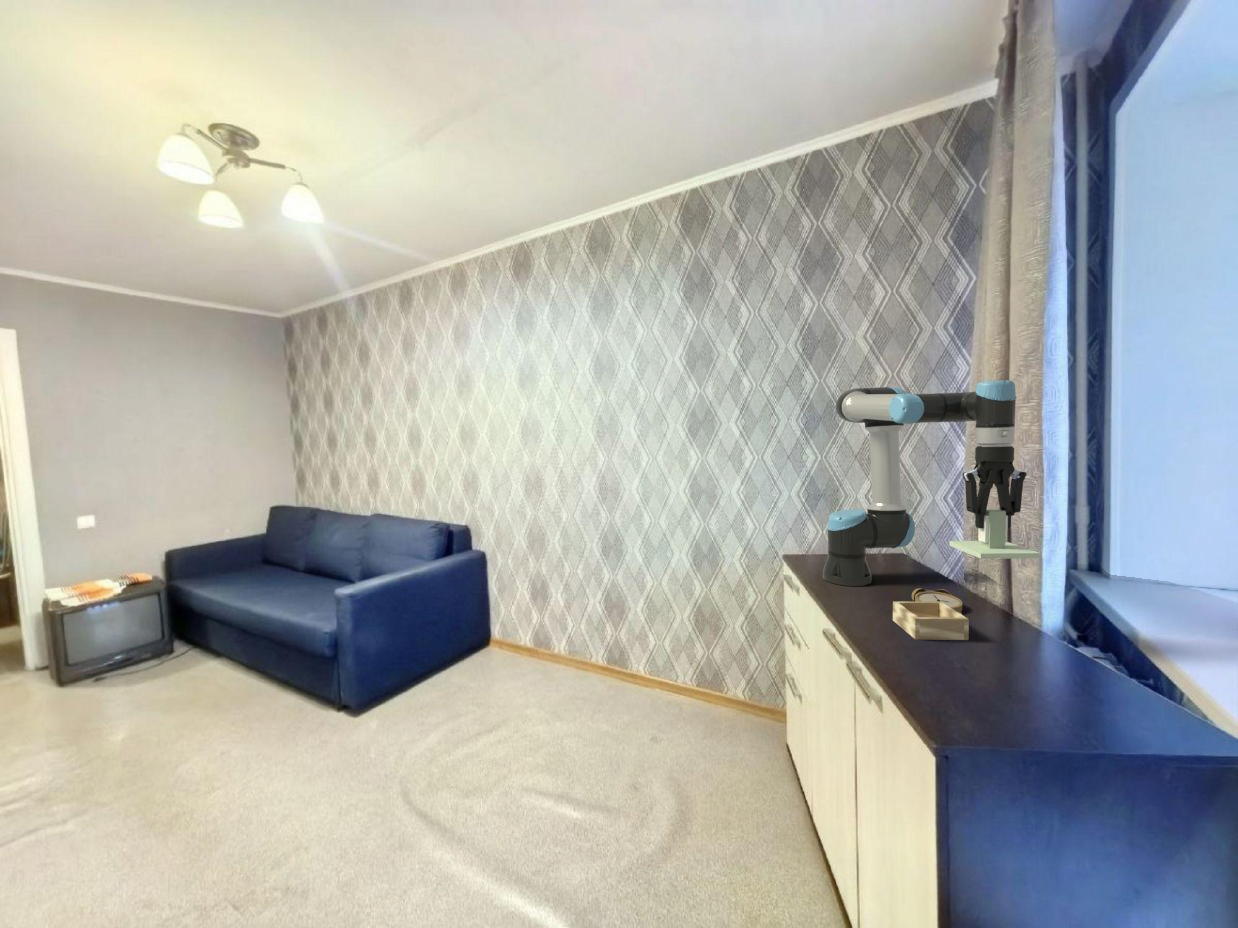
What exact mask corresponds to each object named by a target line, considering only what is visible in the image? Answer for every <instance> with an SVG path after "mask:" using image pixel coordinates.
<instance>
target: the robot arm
mask: <svg viewBox="0 0 1238 928" xmlns="http://www.w3.org/2000/svg"><path fill="white" fill-rule="evenodd" d="M1016 393H1017V392H1016V384H1015V382H1014V381H1013V380H1009V379H1008V380H1007V379H1006V380H986V381H981V382H979V383H977V384H976V388H975V391H967V392H966V391H965V392H944V393H943V392H942V393H941V392H940V393H939V392H938V393H937V392H935V393H907V392H906V391H905V390H904V388H900V387H894V386H893V387H891V386H886V387H867V388H866V387H865V388H863V387H860V388H857V387H856V388H852V389H849V390H846V391H845V392H843V393H841V395H839V397H838V398H837V400H836V402H835V410H836V414H837V415H838V416H839V417H840V419H841V420H844V421H846V422H848V423H853V424H854V423H857V424H864V429H865V430H866V431H867V432H868V433H869V442H870V474H871V475H870V476H871V477H870V478H871V479H870V480H871V481H870V482H871V484H870V485H871V503H870V505H868V506H867V509H866V511H865V510H863V509H843V510H837V511H834V512H832V513H830V514H829V516H828V521H827V545H828V546H827V553H828V554H827V558H826V561H825V564H824V566H823V569H822V579H823V580H824V581H826V582H828V583H831V584H834V585H838V586H839V585H840V586H847V587H862V586H867V585H870V584H871V583H872V578H873V577H872V576H873V575H872V573H871V569H870V568H869V564H868V561H867V556H866V555H867V550H868V549H870V550H872V549H897V548H903V547H907V546H908V545H910V543H911V542H912V541H913V539H914V537H915V532H916V524H915V521H914V518H913V517H912V515H911V514H910V513H908V512H907V508H906V506H904V505H903V504H902V502H901V501H902V500H901V495H902V494H901V469H900V468H901V466H900V465H901V463H900V462H901V460H900V459H901V458H900V431H901V430H902V429H903V428H904V427H905V426H904V425H905V424H906V425H907V424H909V425H910V424H922V423H923V424H924V423H964V422H975V438H974V439H975V442H974V443H975V444H976V445H977V446H976V447H975V450H974V452H975V453H974V459H975V465H974V468H973V469H972V470H969V471H968V472H966V471H964V472H962V475H961V476H962V477H963V480H964V484H965V503H966V504H965V506H966V511H967V512H969V513H973V514H974V517H975V519H974V520H975V521H974V522H975V523H974V524H975V527H976V528H978V530H977V531H978V532H977V533H978V534H977V535H978V536H977V537H978V538H977V539H978V540H977V541H982V542H985V543H988V540H989V516H987V515H985V514H986V509H988V504H989V499H990V493H991V491H992V488H993V487H994V486H995V489H996V492H997V493H996V494H997V498H998V505H999V510H1002V511H1006V531H1005V542H1008V530H1009V529H1010V528H1011V526H1012V516H1015V514H1016V513H1020V512H1021V509H1022V499H1023V487H1024V481H1025V479H1026V477H1027V472H1025V471H1020V470H1017V469H1016V468H1015V466H1014V460H1015V447H1014V446H1013V444H1014V443H1015V427H1016V425H1015V424H1016V400H1017V395H1016ZM977 477H978V478H979V481H978V486H977ZM1009 478H1011V480H1010V481H1009ZM1009 482H1010V483H1009ZM977 487H978V488H977ZM1009 487H1010V488H1009ZM866 512H867V513H866Z"/></svg>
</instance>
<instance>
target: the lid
mask: <svg viewBox="0 0 1238 928" xmlns="http://www.w3.org/2000/svg"><path fill="white" fill-rule="evenodd" d="M985 515H987V516H989V540H988V543H985V542H982V541H979V540H949V546H950V547H952V548H954V549H956V550H959V551H961V552H964V553H966V554H969V555H971V556H973V557H976V558H978V559H981V560H982V559H984V560H985V559H988V560H989V559H991V560H992V559H999V560H1000V559H1007V560H1008V559H1042V553H1041V552H1038V551H1035V550H1032V549H1030V548H1026V547H1024V546H1020V545H1018V544H1015V543H1012V542H1009V541H1007V542H1005V531H1006V511H1002V510H1000V509H998V508H987V509H986V514H985Z"/></svg>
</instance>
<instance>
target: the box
mask: <svg viewBox="0 0 1238 928" xmlns="http://www.w3.org/2000/svg"><path fill="white" fill-rule="evenodd" d="M914 614H916V615H918V616H919V617H917V616H915V615H914ZM892 621H893V622H894V623H896V625H898V627H900V628H902V630H904V631H905V632H906V633H907V634H908V635H910V636H911V638H913V639H914V640H925V641H926V640H928V641H929V640H936V641H941V640H942V641H943V640H944V641H947V640H949V641H969V637H970V635H969V632H970V631H969V629H970V628H969V626H970V623H969V622H970V619H969V618H968V617H966V616H964V615H963V614H962V615H961V614H960V613H958V612H957V611H955V610H954V609H952V608H950V607H949V606H947V605H946V604H944V603H943V602H915V601H892Z"/></svg>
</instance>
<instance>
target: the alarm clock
mask: <svg viewBox="0 0 1238 928" xmlns="http://www.w3.org/2000/svg"><path fill="white" fill-rule="evenodd" d="M911 599H912V602H943V603H944V604H946V605H947V606H949V607H950V608H952V609H954V610H955V611H957V612H958V613H960V614H961V615H963V613H962V611H963V601H962V600H961V599H960V598H959V597H956V596H954V595H952V594H951V593H950V592H949V590H947V589H943V588H939V589H936V590H930V589H924V588H920V587H919V588H915V589H914V590H913V591H912V593H911Z"/></svg>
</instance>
